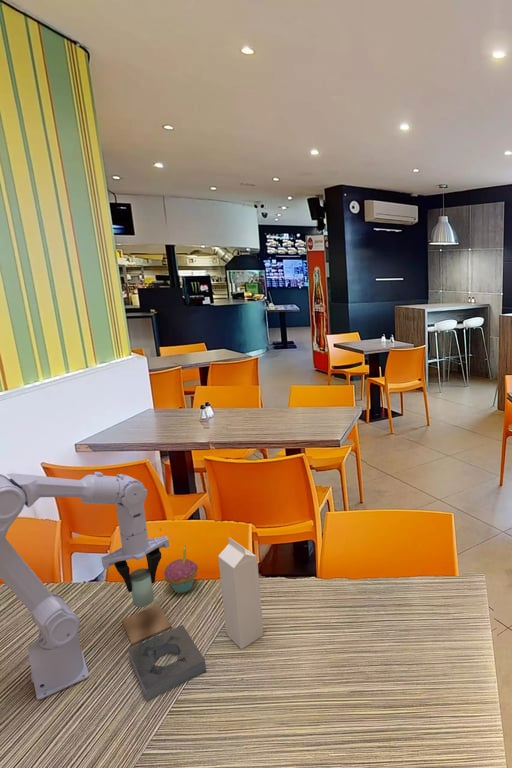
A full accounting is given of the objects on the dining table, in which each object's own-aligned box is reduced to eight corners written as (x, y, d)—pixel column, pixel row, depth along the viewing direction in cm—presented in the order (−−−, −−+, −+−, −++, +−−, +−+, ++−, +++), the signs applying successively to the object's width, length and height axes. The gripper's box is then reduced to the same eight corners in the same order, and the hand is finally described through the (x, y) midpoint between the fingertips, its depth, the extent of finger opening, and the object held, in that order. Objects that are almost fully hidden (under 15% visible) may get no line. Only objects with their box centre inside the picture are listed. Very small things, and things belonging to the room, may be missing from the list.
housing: (147, 701, 83) (145, 689, 82) (129, 659, 93) (128, 649, 93) (206, 670, 89) (205, 659, 88) (183, 634, 99) (182, 624, 98)
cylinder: (136, 609, 98) (132, 582, 97) (130, 599, 102) (126, 573, 101) (156, 601, 100) (152, 574, 99) (150, 592, 104) (146, 566, 103)
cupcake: (202, 577, 119) (197, 535, 117) (194, 598, 111) (189, 554, 109) (171, 577, 120) (166, 536, 118) (161, 598, 112) (155, 554, 110)
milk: (241, 649, 93) (231, 554, 89) (225, 634, 98) (215, 542, 94) (264, 635, 97) (256, 542, 93) (248, 620, 102) (239, 531, 97)
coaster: (132, 645, 97) (131, 643, 97) (121, 621, 104) (121, 619, 104) (171, 628, 101) (171, 625, 101) (158, 606, 109) (158, 604, 109)
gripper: (103, 548, 91) (112, 607, 94) (171, 526, 98) (177, 582, 101) (96, 534, 97) (105, 590, 100) (160, 514, 104) (167, 567, 107)
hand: (140, 585), depth 101 cm, fingers closed on cylinder, 5 cm apart
